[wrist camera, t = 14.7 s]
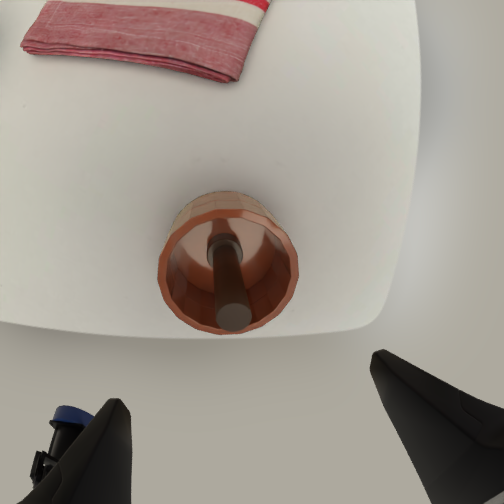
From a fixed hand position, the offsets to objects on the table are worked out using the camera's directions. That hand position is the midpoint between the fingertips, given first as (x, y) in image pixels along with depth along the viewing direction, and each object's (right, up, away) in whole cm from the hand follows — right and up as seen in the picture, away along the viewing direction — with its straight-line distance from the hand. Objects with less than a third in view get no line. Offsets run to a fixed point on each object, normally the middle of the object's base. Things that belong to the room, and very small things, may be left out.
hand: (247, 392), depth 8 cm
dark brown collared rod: (-2, +5, +11) cm, 12 cm away
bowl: (-2, +5, +12) cm, 13 cm away
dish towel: (-5, +28, +2) cm, 28 cm away
